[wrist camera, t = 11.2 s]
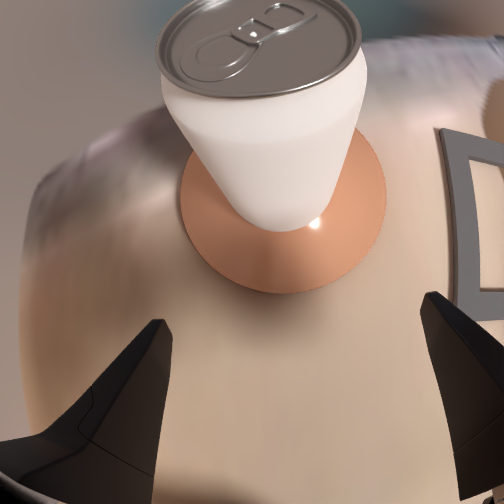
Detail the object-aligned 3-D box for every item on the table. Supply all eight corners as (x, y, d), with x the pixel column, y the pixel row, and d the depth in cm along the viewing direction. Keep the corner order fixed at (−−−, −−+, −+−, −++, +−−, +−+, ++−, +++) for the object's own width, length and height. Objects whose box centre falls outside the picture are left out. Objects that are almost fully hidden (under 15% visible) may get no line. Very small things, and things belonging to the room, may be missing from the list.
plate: (380, 298, 17) (386, 298, 16) (176, 285, 19) (169, 284, 18) (373, 115, 19) (376, 106, 18) (200, 112, 21) (195, 103, 20)
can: (207, 183, 18) (105, 52, 7) (280, 120, 18) (258, -38, 7) (278, 256, 17) (246, 170, 5) (354, 183, 17) (420, 34, 5)
